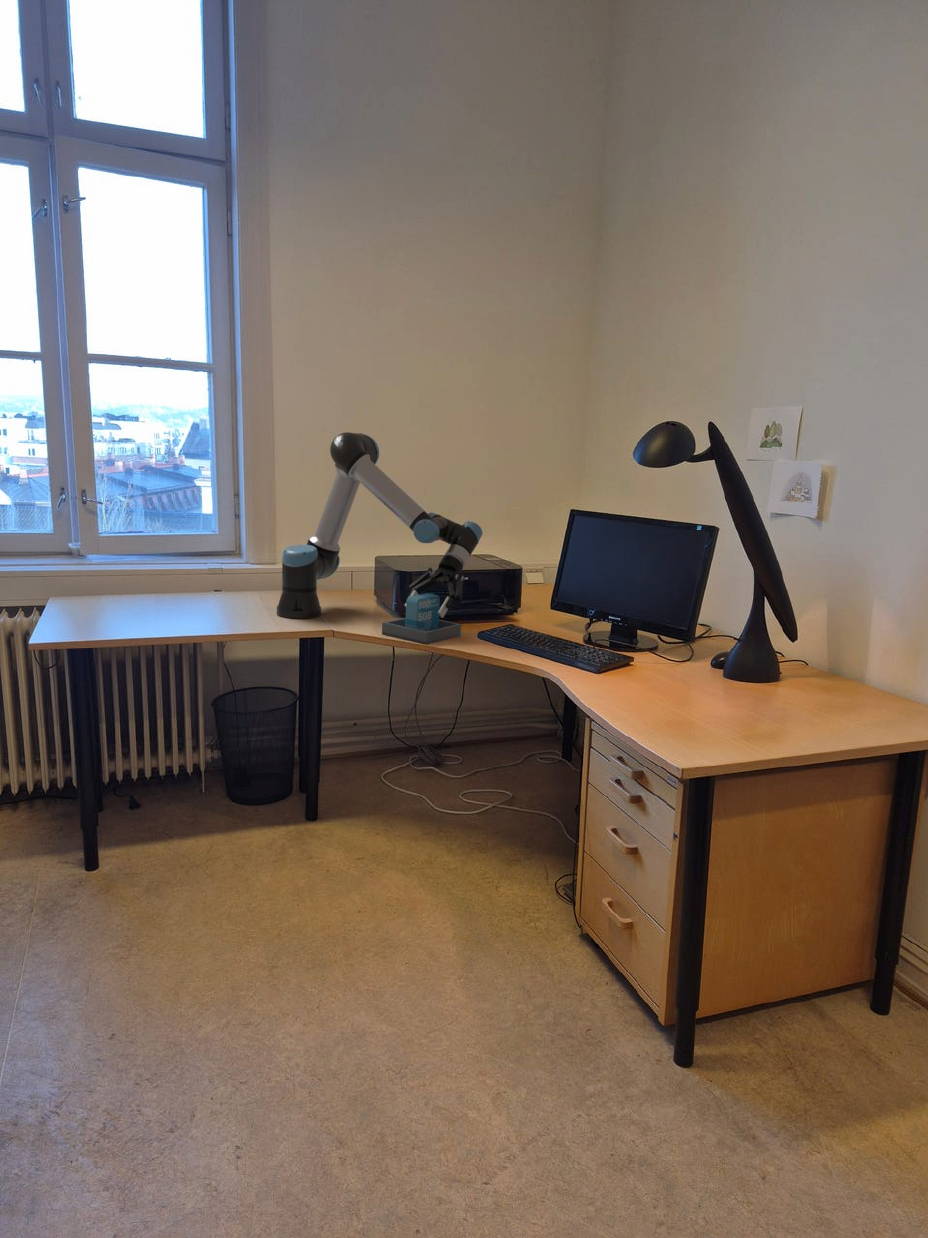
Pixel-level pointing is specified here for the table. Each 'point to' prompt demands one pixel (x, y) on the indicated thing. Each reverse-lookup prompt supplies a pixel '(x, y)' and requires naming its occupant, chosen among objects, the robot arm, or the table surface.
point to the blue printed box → (422, 612)
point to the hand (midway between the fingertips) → (423, 611)
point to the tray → (400, 631)
